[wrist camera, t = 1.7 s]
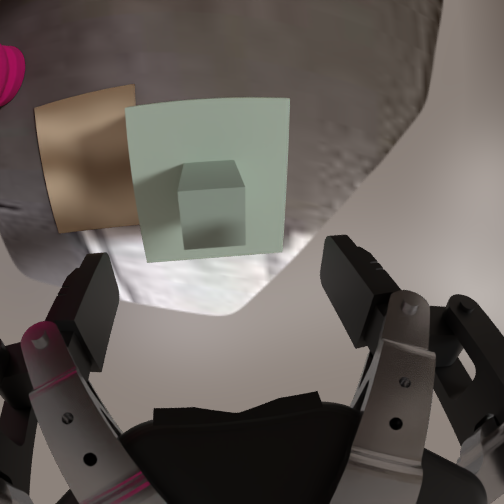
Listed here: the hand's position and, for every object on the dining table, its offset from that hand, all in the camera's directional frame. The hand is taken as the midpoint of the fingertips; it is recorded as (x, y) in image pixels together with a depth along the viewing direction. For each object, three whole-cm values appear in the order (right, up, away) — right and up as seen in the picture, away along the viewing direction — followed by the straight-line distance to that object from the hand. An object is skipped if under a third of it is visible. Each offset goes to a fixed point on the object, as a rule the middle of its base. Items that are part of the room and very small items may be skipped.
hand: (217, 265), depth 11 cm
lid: (-2, +6, +9) cm, 11 cm away
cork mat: (-13, +8, +12) cm, 20 cm away
